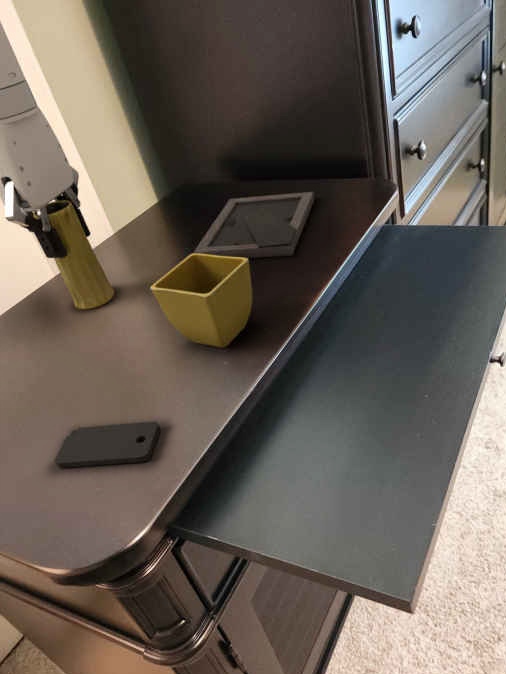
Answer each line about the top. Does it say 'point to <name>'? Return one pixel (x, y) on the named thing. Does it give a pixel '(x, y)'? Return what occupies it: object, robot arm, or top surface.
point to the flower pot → (207, 297)
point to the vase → (78, 258)
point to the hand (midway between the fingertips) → (69, 245)
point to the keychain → (108, 445)
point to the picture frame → (258, 226)
